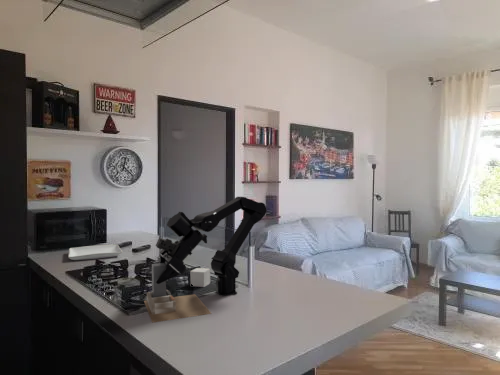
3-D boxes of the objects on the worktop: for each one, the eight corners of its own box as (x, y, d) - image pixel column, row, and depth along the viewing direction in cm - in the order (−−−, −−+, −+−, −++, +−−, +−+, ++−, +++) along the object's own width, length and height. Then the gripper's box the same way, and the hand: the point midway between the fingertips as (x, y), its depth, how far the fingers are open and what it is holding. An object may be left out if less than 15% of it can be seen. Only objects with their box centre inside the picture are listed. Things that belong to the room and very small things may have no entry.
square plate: (69, 253, 217) (69, 247, 217) (118, 249, 229) (117, 243, 229) (68, 263, 193) (68, 255, 193) (122, 257, 204) (122, 251, 204)
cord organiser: (195, 296, 133) (195, 285, 133) (211, 316, 114) (211, 302, 114) (143, 303, 126) (143, 291, 126) (152, 325, 107) (152, 311, 107)
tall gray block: (164, 300, 127) (163, 263, 126) (166, 304, 123) (165, 265, 123) (152, 302, 125) (151, 264, 125) (153, 305, 121) (153, 266, 121)
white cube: (204, 287, 146) (204, 272, 146) (190, 286, 148) (190, 271, 147) (210, 283, 152) (210, 268, 151) (197, 282, 153) (196, 267, 153)
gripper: (165, 226, 134) (134, 259, 130) (175, 232, 117) (139, 270, 112) (187, 245, 137) (157, 278, 133) (200, 255, 120) (166, 293, 116)
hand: (154, 279), depth 123 cm, fingers open, 9 cm apart
